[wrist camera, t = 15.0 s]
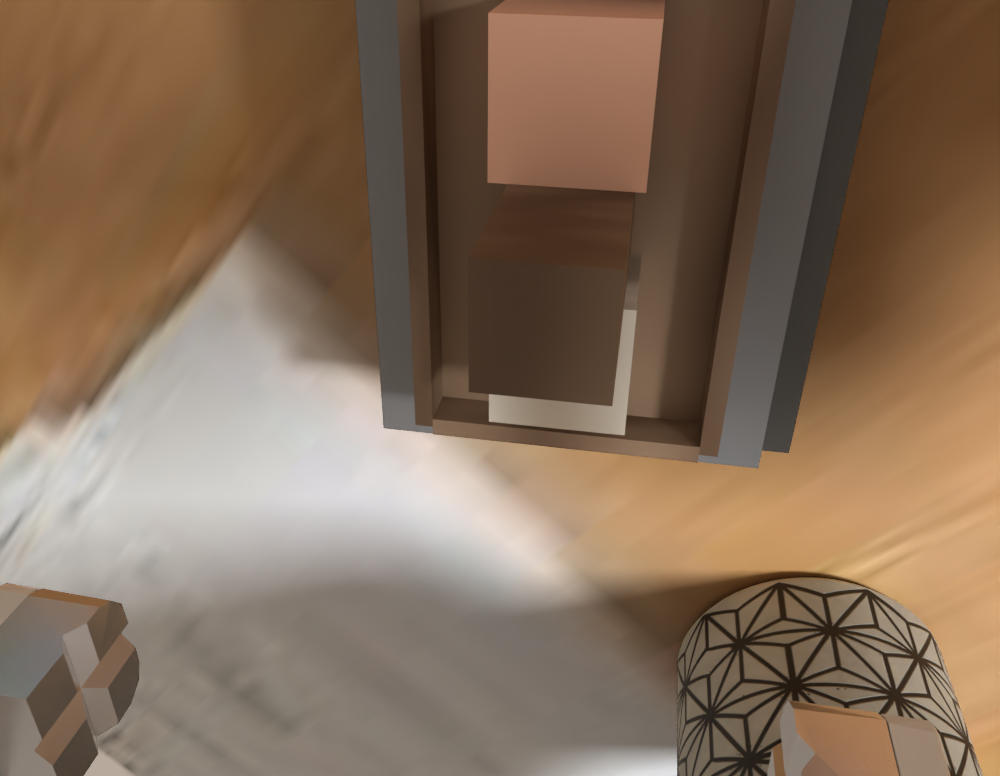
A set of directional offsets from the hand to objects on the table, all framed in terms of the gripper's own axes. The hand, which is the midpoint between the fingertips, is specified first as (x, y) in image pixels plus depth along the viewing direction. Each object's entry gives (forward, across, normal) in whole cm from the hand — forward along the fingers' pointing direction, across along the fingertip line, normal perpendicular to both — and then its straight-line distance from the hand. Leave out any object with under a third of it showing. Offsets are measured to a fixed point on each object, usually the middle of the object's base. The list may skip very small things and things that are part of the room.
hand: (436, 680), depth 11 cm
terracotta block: (+18, 0, -4) cm, 19 cm away
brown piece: (+20, 0, 0) cm, 20 cm away
